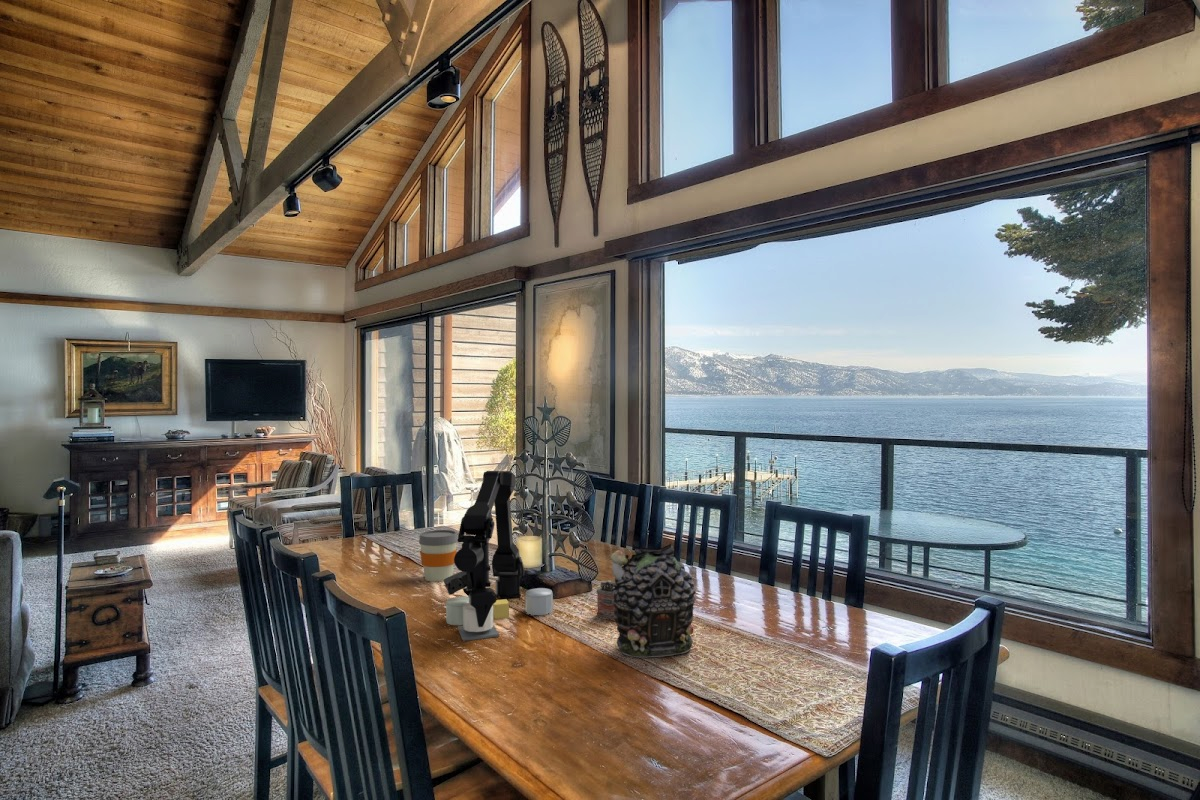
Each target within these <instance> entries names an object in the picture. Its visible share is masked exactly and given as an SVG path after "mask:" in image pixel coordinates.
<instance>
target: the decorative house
mask: <svg viewBox="0 0 1200 800" xmlns="http://www.w3.org/2000/svg"><path fill="white" fill-rule="evenodd" d="M657 547H658V545H657V546H655V548H648V547H644V546H640V545H639V546H637V547H635V549H634V552H635V553H634V554H631V557H630V556H629V555H628V554H626V553H627V552H625V551H623V550H622V549H620V550H619V549H618V550H616V551H615V552H613V553H612V554H610V555H611V556H610V559H611V561H612V574H613V576H614V581H613V582H614V593H613V596H614V599H613V601H612V602H613V605H614V606H615V610H614V620H613V621H614V622H615V624H616V630H617V632H618V633H619V635H618V637H617V639H616V645H617V647H618V650H619V652H621V654H623V655H625V656H629V657H631V658H632V657H633V658H641V659H642V658H645V659H646V658H658V657H659V658H661V657H662V658H663V657H669V656H671V657H672V656H674V655H680V654H681V655H682V654H686V653H688V652H689V651H690V650H691V648H692V647H693V643H694V639H693V638H692V636H691V635H693V633H694V627H693V625H692V623H693V621H694V605H695V603H696V601H697V599H696V598H695V594H696V593H697V592H696V588H695V583H694V581H693V576H692V573H690V572H688V571H686V568H685V565H684V563H683V561H682V562H681V561H678V559H677V558H676V557H674V556H673V554H674V552H675V548H674V546H673V545H672V544H668V545H666V546H662V547H660V548H659V547H658V548H657ZM629 557H630V558H629Z"/></svg>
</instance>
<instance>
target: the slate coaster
mask: <svg viewBox="0 0 1200 800" xmlns="http://www.w3.org/2000/svg"><path fill="white" fill-rule="evenodd" d="M457 630H458V632H459V635H460V637H461V640H462V641H463V642H466V641H472V640H474V641H475V640H481V639H489V638H496V637H497V638H498V637H500V633H499V632H498V630H497V628H496V627H495V625H494V624H493V627H492V628H491V629H489V630H486V631H481V632H469V631H466V630H464V628H463V625H461V626H458V627H457Z"/></svg>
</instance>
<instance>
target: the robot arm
mask: <svg viewBox="0 0 1200 800" xmlns="http://www.w3.org/2000/svg"><path fill="white" fill-rule="evenodd" d="M516 484H517V476H516V474H515V473H514V472H512V470H486V471H484V472H483V476H482V483H481V486H480V487H479V491H478V494H477V496H476V499H475V502H474V503H473V505H471V506H470V507H468V508H467V510H466V511H465V514H464V515H463V517H462V518H461V521H460V526H459V531H458V534H457V540H458V541H457V543H461V548H460V549H459V550H457V552H456V554H455V557H454V565H455V567H456V568H457V569H458V570H459V571H460V572H459V571H458V572H456V573H455V574H454V573H453V575H452V576H450V577H448V578H446V579H444V580H443V581H442V582H443V583H444V586H445V588H446V591H447V593H448V595H450V596H451V595H454V594H455V593H456V592H459V591H460V590H462V592H463V593H464V594H465V596H467V597H469V603H470V605H471V606H473V607H474V608H475V611H476V617H477V622H478V626H479V627H483V625H484V623H485V621H486V618H487V616H488V614H489V611H490V609H491V607H492V605H493V604H494V603H495V602H496V600H497V597H498V598H499V597H500V598H504V599H510V598H509V597H513V598H520V596H521V597H522V594H521V592H520V591H521V589H520V588H521V587H520V583H521V581H520V579H521V577H524V576H525V566H524V565H525V564H524V562H523V559H522V557H521V556H520V549H519V548H518V547H517V545H516V544H515V543H514V539H513V537H514V536H513V523H512V511H511V496H512V495H513V493H514V491H515V488H516ZM493 507H494V513H495V520H494V517H493V515H492V510H493ZM495 526H496V539H497V541H496V542H497V548H496V549H495V552H494V553H493V556H492V559H491V565H490V554H489V553H490V547H489V546H490V543H489V542H490V539H493V538H492V537H493V534H494V529H495ZM491 568H492V575H493V577H497V579H496V580H495V591H494V590H493V588H491V586H492V584H491V583H492V582H491V581H490V571H491ZM500 598H499V599H500Z"/></svg>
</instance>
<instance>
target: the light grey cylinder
mask: <svg viewBox="0 0 1200 800" xmlns="http://www.w3.org/2000/svg"><path fill="white" fill-rule="evenodd" d="M553 596H554V594H553V591H552V589H550V588H545V587H537V588H530V589H528V590H526V592H525V613H526V612H527V613H526V614H527V615H529V614H531V615H530V616H534V615H541V616H546V615H545V614H547V615H549V614H548V613H550V614H552V613H551V612H553V611H554V604H553V603H554V597H553Z"/></svg>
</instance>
